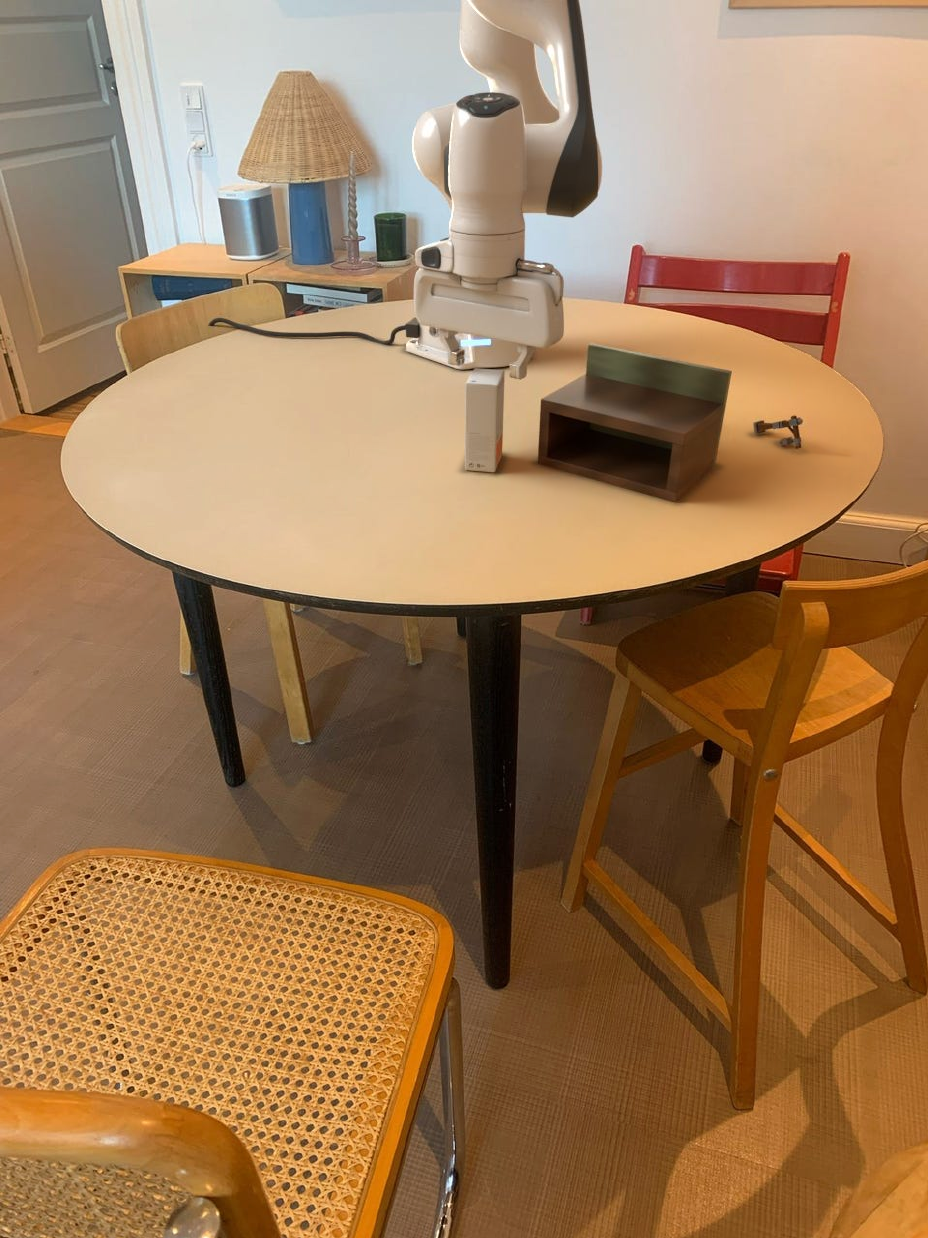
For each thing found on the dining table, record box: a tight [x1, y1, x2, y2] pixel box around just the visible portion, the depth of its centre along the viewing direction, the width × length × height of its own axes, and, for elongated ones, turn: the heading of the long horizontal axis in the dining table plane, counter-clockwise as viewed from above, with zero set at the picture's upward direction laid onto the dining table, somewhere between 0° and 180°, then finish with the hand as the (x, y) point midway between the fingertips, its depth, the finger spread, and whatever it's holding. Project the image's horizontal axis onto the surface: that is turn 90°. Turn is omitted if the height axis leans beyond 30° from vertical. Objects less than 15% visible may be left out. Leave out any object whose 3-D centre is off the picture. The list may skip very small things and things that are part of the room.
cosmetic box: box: [464, 368, 506, 473], centre depth 114 cm, size 6×4×12 cm
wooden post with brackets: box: [752, 415, 804, 450], centre depth 122 cm, size 2×8×4 cm, turn 29°
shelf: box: [537, 342, 733, 503], centre depth 113 cm, size 20×13×13 cm, turn 55°
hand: (486, 370), depth 110 cm, fingers open, 8 cm apart
